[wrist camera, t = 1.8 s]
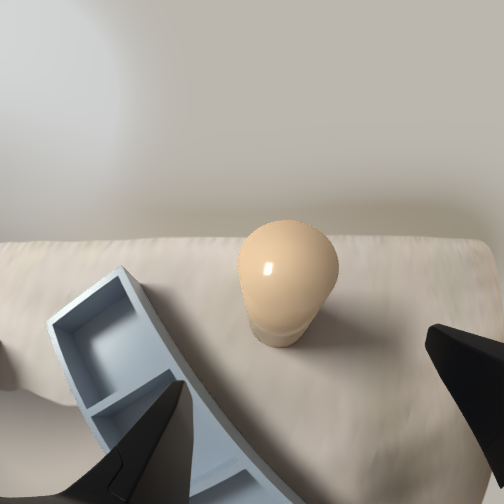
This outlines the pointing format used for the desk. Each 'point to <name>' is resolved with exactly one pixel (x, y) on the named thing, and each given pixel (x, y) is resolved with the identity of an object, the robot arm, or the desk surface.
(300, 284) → the pin
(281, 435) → the desk surface
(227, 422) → the blue-grey compartment tray
